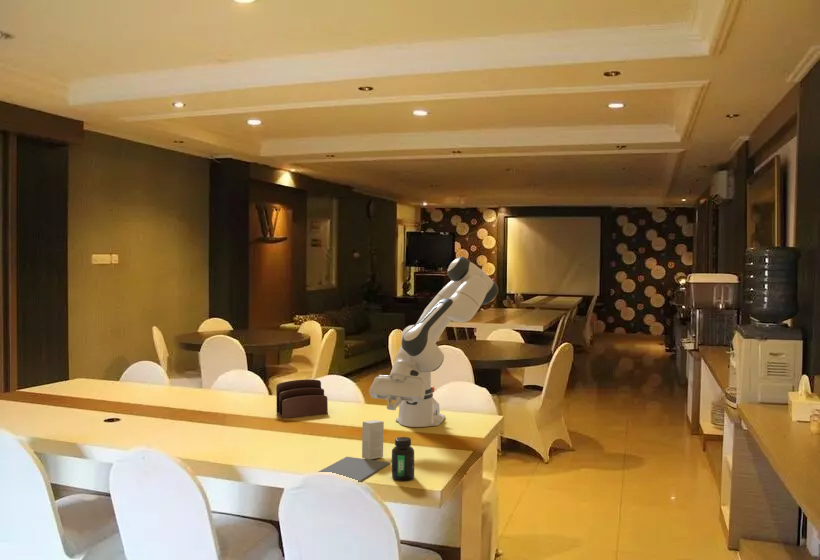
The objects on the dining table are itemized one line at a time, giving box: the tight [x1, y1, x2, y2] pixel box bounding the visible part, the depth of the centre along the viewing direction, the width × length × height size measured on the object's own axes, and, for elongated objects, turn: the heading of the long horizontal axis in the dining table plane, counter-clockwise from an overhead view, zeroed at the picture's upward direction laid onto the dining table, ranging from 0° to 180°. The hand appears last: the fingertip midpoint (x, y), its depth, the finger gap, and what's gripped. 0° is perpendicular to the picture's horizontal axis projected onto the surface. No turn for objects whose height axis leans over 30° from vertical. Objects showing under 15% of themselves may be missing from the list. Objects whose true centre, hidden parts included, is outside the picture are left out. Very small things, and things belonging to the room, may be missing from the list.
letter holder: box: [275, 379, 329, 420], centre depth 297 cm, size 10×20×14 cm, turn 115°
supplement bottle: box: [391, 436, 415, 482], centre depth 212 cm, size 7×7×12 cm
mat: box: [318, 456, 390, 482], centre depth 220 cm, size 20×16×1 cm
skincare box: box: [361, 419, 384, 460], centre depth 232 cm, size 6×4×12 cm
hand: (390, 409), depth 242 cm, fingers closed
